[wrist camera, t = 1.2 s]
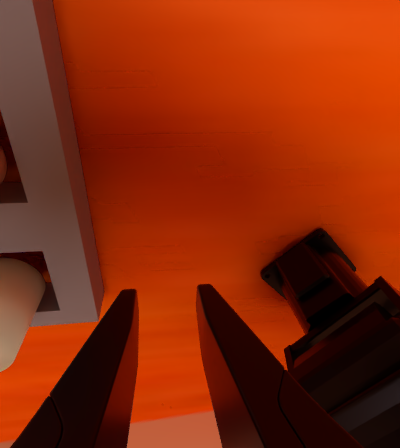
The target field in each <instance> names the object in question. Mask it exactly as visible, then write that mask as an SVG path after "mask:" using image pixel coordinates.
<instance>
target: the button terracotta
mask: <svg viewBox="0 0 400 448" xmlns="http://www.w3.org/2000/svg"><path fill="white" fill-rule="evenodd" d="M6 172H7V160H6V156H5V153H4V151H3V149H2V147H1V145H0V184H1V183H2V182H3V180H4V178H5V176H6Z"/></svg>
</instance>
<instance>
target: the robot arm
mask: <svg viewBox="0 0 400 448" xmlns="http://www.w3.org/2000/svg"><path fill="white" fill-rule="evenodd" d="M320 234H322V235H320ZM319 235H320V236H319ZM355 271H356V267H355V266H354V265H353V264H352V262H351V261H350V260H349V259H348V258H347V256H346V255H345V254H344V253H343V251H342V250H341V249H340V248H339V247H338V245H337V244H336V243H335V242H334V241H333V239H332V238H331V237H330V236H329V235H328V233H327V232H326V231H325V230H324V229H321V228H320V229H317V230H316V231H314V232H313V233H312V234H310V235H309V236H308V237H306V238H305V239H304V240H302V241H301V242H300V243H298V244H297V245H296V246H294V247H293V248H292V249H290V250H289V251H288V252H286V253H285V254H284V255H282V256H281V257H280V258H278V259H277V260H276V261H274V262H273V263H271V264H270V265H269V266H267V267H266V268H265V269H263V270H262V271H261V273H260V274H261V277H262V279H263V280H264V281H265V282H267V283H268V284H269V285H270V286H271V287H272V288H273V289H275V290H276V291H277V292H278V293H279V294H280V295H282V296H283V297H284V298H285V299H286V300H287V301H288V303H289V305H290V306H291V308H292V310H293V312H294V314H295V316H296V318H297V320H298V322H299V323H300V325H301V327H302V329H303V331H304V333H305V335H304V336H303V337H302V338H300V339H299V340H298V341H296V342H295V343H294V344H292V345H289V346H287V347H286V348H285V349H284V353H285V358H286V363H287V368H288V371H287V370H284V367H283V365H282V364H281V363H280V362H279V361H278V360H277V359H276V358H275V356H274V355H273V354H272V353H271V352H270V351H269V350H268V348H267V347H266V346H265V345H264V344H263V343H262V342H261V341H260V339H259V338H258V337H257V336H256V335H255V334H254V333H253V331H252V330H251V329H250V328H249V327H248V326H247V325H246V323H245V322H244V321H243V320H242V319H241V318H240V317H239V316H238V314H237V313H236V312H235V311H234V310H233V309H232V308H231V306H230V305H229V304H228V303H227V302H226V301H225V300H224V299H223V297H222V296H221V295H220V294H219V293H218V292H217V291H216V289H215V288H214V287H213V286H212V285H211V284H200V285H198V286H197V297H196V312H197V321H198V330H199V339H200V348H201V355H202V361H203V366H204V371H205V375H206V379H207V383H208V388H209V392H210V396H211V401H212V405H213V409H214V413H215V418H216V422H217V426H218V430H219V435H220V439H221V443H222V448H400V292H399V291H398V290H396V289H395V288H394V287H393V286H392V285H391V284H390V283H388V282H387V281H386V280H385V279H384V278H383V277H381V276H380V277H379V278H377V279H376V280H375V281H374V283H373V284H372V285H370V286H369V287H367V286H366V285H365V283H364V282H363V281H362V280H361V279H360V278H359V277H358V276H357V274H356V273H355ZM266 274H268V275H266ZM138 332H139V308H138V298H137V291H136V289H125V290H122V291H121V292H120V294H119V295H118V296H117V298H116V299H115V301H114V302H113V304H112V305H111V306H110V308H109V309H108V311H107V312H106V314H105V315H104V316H103V318H102V319H101V321H100V322H99V324H98V325H97V326H96V328H95V329H94V331H93V332H92V334H91V335H90V337H89V338H88V339H87V341H86V342H85V344H84V345H83V347H82V348H81V349H80V351H79V352H78V354H77V355H76V357H75V358H74V359H73V361H72V362H71V364H70V365H69V367H68V368H67V369H66V371H65V372H64V374H63V375H62V377H61V378H60V380H59V381H58V382H57V384H56V385H55V387H54V388H53V390H52V391H51V392H50V396H48V397H47V398H46V399H45V401H44V402H43V404H42V405H41V407H40V408H39V409H38V411H37V412H36V414H35V415H34V416H33V418H32V419H31V421H30V422H29V423H28V425H27V426H26V427H25V429H24V430H23V431H22V433H21V434H20V436H19V437H18V438H17V439H16V441H15V442H14V443H13V445H12V446H11V447H10V448H127V442H128V435H129V427H130V420H131V413H132V405H133V398H134V391H135V383H136V376H137V367H138Z"/></svg>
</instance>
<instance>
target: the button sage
mask: <svg viewBox="0 0 400 448" xmlns="http://www.w3.org/2000/svg"><path fill="white" fill-rule="evenodd" d="M45 288H46V284H45V280H44V278H43V276H42V275H41V273H40V272H39V271H38V270H37V269H36V268H34V267H33V266H31V265H30V264H28V263H26V262H23V261H21V260H17V259H13V258H0V372H1V371H3V370H5V369H7V368H8V367H9V366H10V365H11V364H12V363H13V362H14V360H15V358H16V355H17V353H18V351H19V349H20V346H21V344H22V342H23V340H24V337H25V335H26V333H27V331H28V328H29V326H30V324H31V321H32V319H33V317H34V315H35V312H36V310H37V308H38V306H39V303H40V301H41V299H42V297H43V294H44V292H45Z"/></svg>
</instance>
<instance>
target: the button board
mask: <svg viewBox="0 0 400 448" xmlns="http://www.w3.org/2000/svg"><path fill="white" fill-rule="evenodd" d="M0 110H1V114H2V117H3V120H4V124H5V127H6V130H7V134H8V137H9V140H10V144H11V147H12V151H13V154H14V157H15V161H16V164H17V167H18V171H19V174H20V177H21V181H22V182H2V183H1V184H0V253H11V252H33V251H43V254H44V258H45V261H46V264H47V268H48V271H49V274H50V278H51V281H52V283H45V284H46V288H45V292H44V294H43V297H42V299H41V301H40V303H39V306H38V308H37V310H36V312H35V315H34V317H33V319H32V321H31V324H30V326H29V327H32V326H45V325H57V324H70V323H82V322H95V321H99V316H100V311H101V306H102V301H103V296H104V288H103V282H102V277H101V271H100V266H99V260H98V254H97V249H96V243H95V237H94V232H93V226H92V221H91V215H90V209H89V204H88V198H87V192H86V187H85V181H84V176H83V170H82V164H81V159H80V153H79V147H78V142H77V136H76V131H75V125H74V119H73V114H72V108H71V103H70V97H69V91H68V86H67V80H66V74H65V69H64V63H63V58H62V52H61V46H60V41H59V35H58V29H57V24H56V18H55V13H54V7H53V1H52V0H0Z"/></svg>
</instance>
